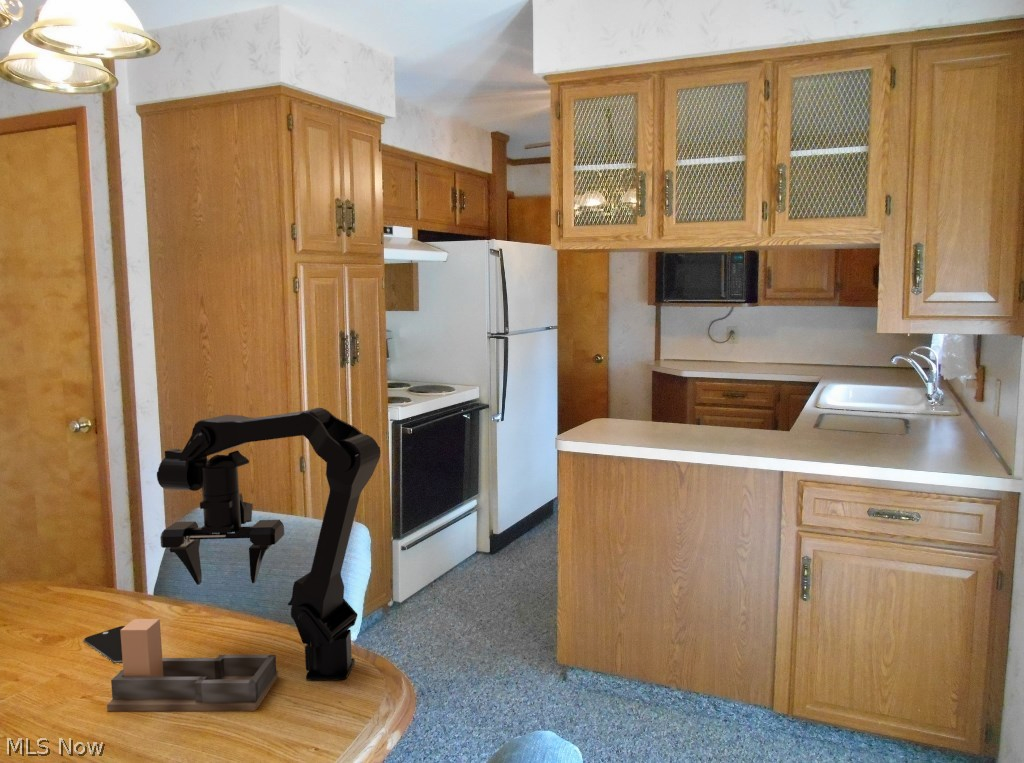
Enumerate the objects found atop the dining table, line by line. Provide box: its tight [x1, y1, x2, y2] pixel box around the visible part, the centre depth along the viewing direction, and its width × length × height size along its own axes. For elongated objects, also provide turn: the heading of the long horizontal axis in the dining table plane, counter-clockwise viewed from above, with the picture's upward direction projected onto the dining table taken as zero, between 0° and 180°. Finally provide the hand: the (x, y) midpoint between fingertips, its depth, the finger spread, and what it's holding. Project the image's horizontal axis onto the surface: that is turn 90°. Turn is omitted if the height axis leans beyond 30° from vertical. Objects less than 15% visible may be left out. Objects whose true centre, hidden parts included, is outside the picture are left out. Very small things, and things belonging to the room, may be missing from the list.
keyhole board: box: [106, 654, 279, 712], centre depth 116 cm, size 22×10×4 cm, turn 89°
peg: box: [120, 618, 164, 677], centre depth 116 cm, size 4×4×10 cm
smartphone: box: [83, 625, 126, 664], centre depth 134 cm, size 8×1×15 cm
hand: (226, 583), depth 127 cm, fingers open, 9 cm apart
